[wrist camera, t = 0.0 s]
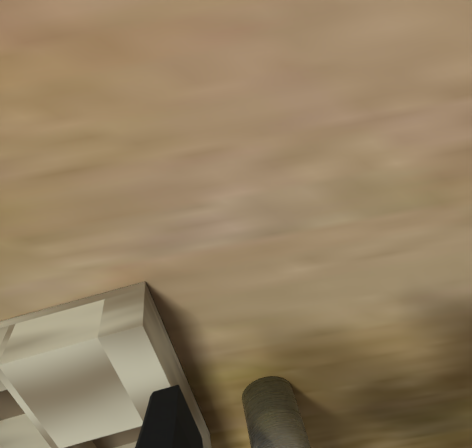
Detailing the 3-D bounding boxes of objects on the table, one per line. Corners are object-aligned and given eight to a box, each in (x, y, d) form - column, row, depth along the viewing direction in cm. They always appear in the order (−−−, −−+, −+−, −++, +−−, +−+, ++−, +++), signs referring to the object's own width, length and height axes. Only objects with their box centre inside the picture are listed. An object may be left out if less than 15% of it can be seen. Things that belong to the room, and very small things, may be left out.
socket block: (210, 433, 27) (214, 483, 24) (17, 487, 26) (1, 543, 24) (145, 281, 21) (142, 325, 18) (-105, 350, 20) (-144, 404, 18)
